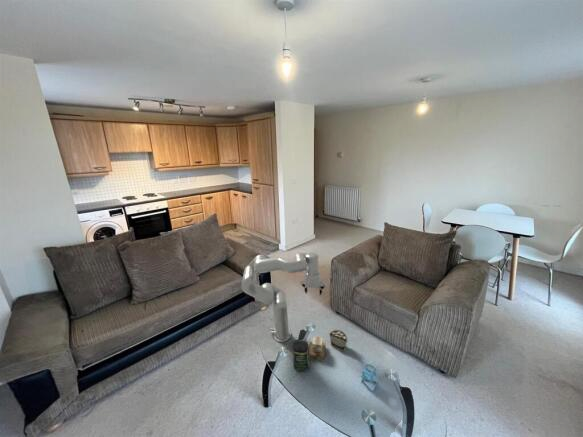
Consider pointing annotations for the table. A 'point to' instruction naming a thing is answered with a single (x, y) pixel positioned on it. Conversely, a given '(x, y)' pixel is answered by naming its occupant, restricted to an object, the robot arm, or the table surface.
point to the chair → (369, 376)
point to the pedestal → (317, 353)
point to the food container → (338, 339)
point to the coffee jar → (301, 355)
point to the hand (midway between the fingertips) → (313, 293)
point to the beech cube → (317, 344)
